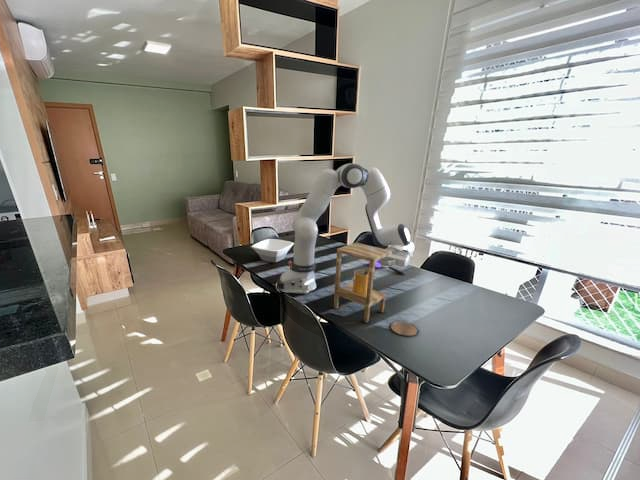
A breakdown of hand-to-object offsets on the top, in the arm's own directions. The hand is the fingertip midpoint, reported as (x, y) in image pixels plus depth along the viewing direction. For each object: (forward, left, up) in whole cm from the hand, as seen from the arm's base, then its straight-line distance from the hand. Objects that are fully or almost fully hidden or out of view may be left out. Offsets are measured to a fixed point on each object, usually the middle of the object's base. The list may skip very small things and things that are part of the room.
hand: (378, 261), depth 135 cm
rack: (-11, -9, -21) cm, 25 cm away
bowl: (-48, +67, -21) cm, 85 cm away
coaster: (+3, -26, -21) cm, 33 cm away
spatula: (+22, +39, -21) cm, 50 cm away
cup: (-11, -9, -12) cm, 18 cm away
